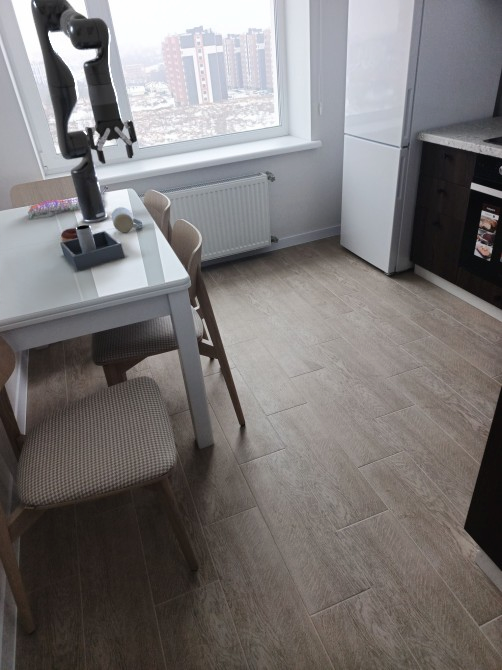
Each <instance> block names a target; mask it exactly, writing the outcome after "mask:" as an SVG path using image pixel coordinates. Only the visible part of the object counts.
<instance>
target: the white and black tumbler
mask: <svg viewBox="0 0 502 670" xmlns="http://www.w3.org/2000/svg"><path fill="white" fill-rule="evenodd" d="M75 228H76V232H77V236H78V239H79V243H80V246H81V250H82V253H86V252H90V251H94V250H96V246H95V242H94V239H93V235H92V234H93V232H92V228H91V225H90V224H82V225H77V226H76V227H75Z"/></svg>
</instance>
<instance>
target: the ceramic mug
mask: <svg viewBox="0 0 502 670" xmlns="http://www.w3.org/2000/svg"><path fill="white" fill-rule="evenodd" d="M111 220H112V225H113V227H114V228H115V230H117V231H118V232H120V233H128V232H129V231H131V230H132V229H133V228H134V229H142V228H143V225H144V223H143V222H142V221H141V220H139V219H136V218H134V217H133V213H132V212H131V210H130V209H129V208H126V207H124V206H119V207H116V208H114V209H113V210H112V213H111Z"/></svg>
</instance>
